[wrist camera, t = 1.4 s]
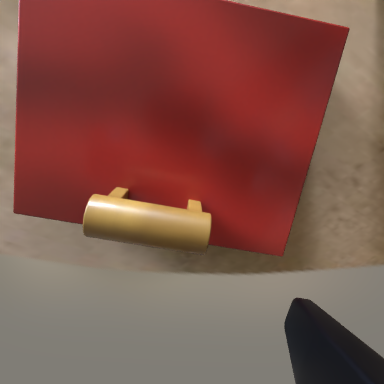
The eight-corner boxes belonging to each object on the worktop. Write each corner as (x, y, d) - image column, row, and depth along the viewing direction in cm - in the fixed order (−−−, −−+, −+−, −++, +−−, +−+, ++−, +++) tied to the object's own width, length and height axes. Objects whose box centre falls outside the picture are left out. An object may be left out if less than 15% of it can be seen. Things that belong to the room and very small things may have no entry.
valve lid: (278, 251, 17) (319, 308, 12) (20, 209, 16) (-59, 252, 11) (342, 32, 14) (433, -19, 9) (28, -38, 13) (-76, -141, 8)
